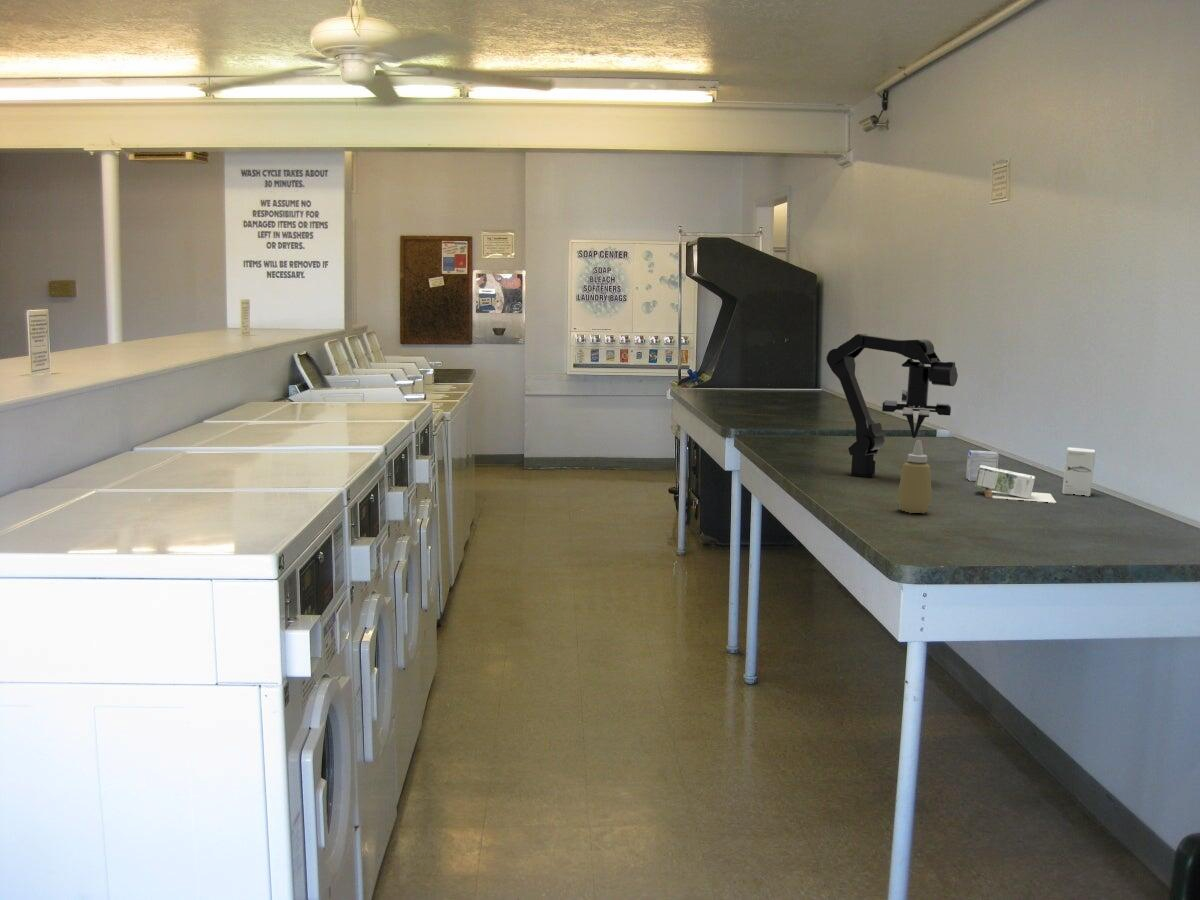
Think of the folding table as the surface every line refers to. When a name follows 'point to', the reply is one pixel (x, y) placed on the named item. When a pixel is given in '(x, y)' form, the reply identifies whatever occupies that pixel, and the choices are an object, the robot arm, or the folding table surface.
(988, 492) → the strip
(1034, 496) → the mat
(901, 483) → the squeeze bottle
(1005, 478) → the syrup box
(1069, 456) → the supplement box
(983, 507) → the folding table surface
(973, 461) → the medicine box
